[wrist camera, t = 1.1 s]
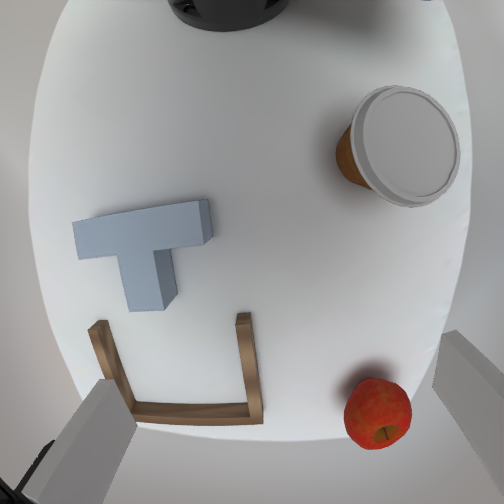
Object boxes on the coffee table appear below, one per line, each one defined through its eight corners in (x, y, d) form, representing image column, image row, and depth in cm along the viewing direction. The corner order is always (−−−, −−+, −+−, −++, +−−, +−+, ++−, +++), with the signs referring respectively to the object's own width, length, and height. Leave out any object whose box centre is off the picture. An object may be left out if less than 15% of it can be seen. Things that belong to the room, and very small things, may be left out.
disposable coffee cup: (327, 105, 28) (362, 63, 16) (405, 129, 28) (467, 107, 16) (313, 190, 30) (345, 191, 18) (393, 208, 30) (455, 221, 18)
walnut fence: (98, 320, 34) (87, 330, 31) (250, 312, 33) (249, 324, 30) (130, 407, 37) (123, 420, 34) (263, 409, 36) (263, 423, 33)
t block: (95, 217, 31) (72, 222, 26) (208, 199, 31) (198, 200, 26) (110, 298, 33) (91, 313, 28) (220, 290, 33) (213, 307, 28)
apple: (345, 357, 34) (370, 413, 24) (401, 359, 34) (435, 407, 24) (326, 406, 36) (341, 464, 25) (379, 406, 36) (403, 457, 25)
